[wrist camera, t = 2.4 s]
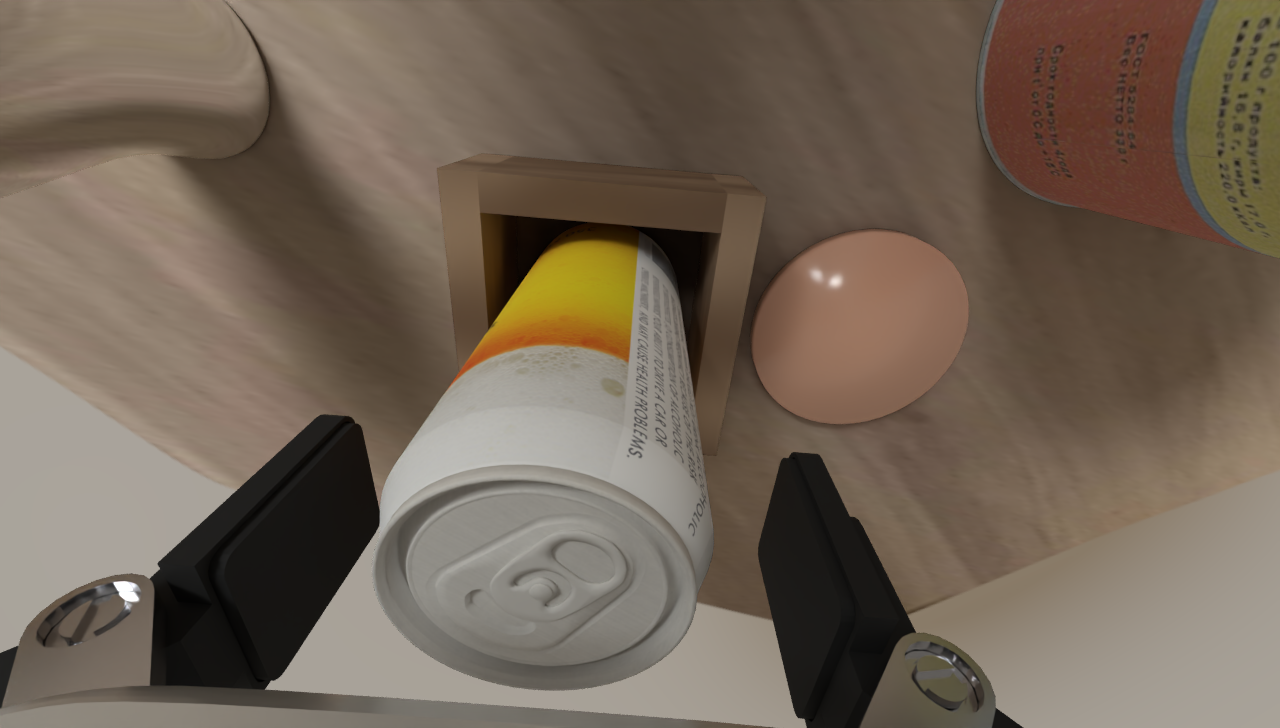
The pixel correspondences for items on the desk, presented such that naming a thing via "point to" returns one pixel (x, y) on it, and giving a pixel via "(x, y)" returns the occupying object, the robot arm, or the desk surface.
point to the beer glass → (123, 84)
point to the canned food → (1141, 111)
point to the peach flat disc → (858, 326)
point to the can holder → (520, 186)
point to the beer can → (557, 481)
